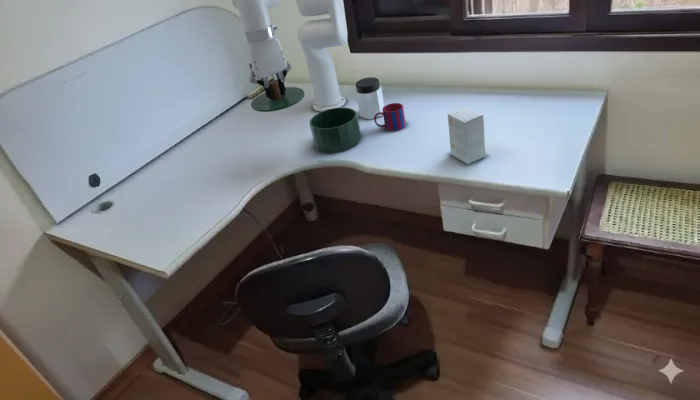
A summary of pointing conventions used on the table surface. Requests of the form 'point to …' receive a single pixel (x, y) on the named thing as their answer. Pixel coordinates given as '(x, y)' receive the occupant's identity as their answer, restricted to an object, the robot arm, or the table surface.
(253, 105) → the tin lid
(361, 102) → the jar
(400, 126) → the mug
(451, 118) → the small box
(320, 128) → the tin
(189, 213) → the table surface
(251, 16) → the robot arm
